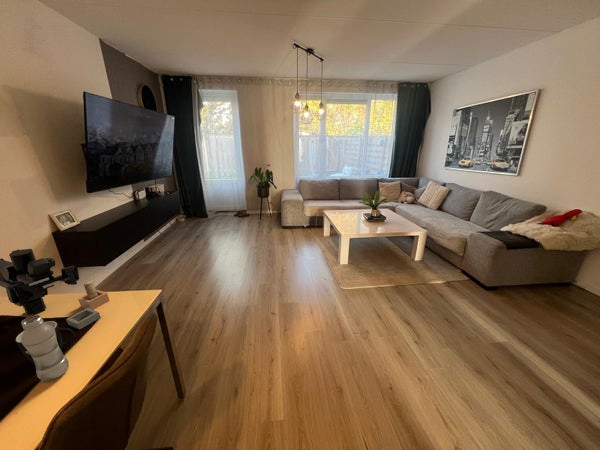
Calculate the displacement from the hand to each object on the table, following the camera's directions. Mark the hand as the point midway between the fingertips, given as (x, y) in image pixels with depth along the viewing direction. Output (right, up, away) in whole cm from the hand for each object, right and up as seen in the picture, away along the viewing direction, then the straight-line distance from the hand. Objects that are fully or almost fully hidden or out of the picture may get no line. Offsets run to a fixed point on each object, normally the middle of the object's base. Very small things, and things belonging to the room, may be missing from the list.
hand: (60, 288), depth 85 cm
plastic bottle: (+12, -22, -14) cm, 29 cm away
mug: (+5, -20, -6) cm, 21 cm away
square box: (-2, -12, +17) cm, 21 cm away
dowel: (-2, -11, +17) cm, 20 cm away
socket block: (+2, -15, +7) cm, 17 cm away
